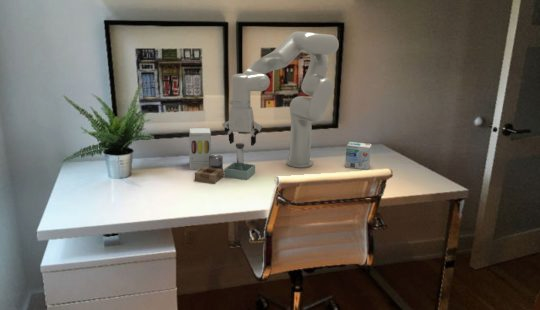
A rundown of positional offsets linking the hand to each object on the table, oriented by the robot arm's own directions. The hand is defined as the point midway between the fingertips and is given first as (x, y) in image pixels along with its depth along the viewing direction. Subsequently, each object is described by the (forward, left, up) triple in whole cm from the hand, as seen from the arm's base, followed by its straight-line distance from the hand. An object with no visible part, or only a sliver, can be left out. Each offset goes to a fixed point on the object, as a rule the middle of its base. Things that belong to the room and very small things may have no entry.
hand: (242, 143), depth 201 cm
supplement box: (-3, -22, -14) cm, 26 cm away
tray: (+1, -1, -14) cm, 14 cm away
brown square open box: (+11, -11, -14) cm, 20 cm away
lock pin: (+1, 0, -13) cm, 13 cm away
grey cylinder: (+2, -12, -14) cm, 18 cm away
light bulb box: (-31, +45, -14) cm, 57 cm away
